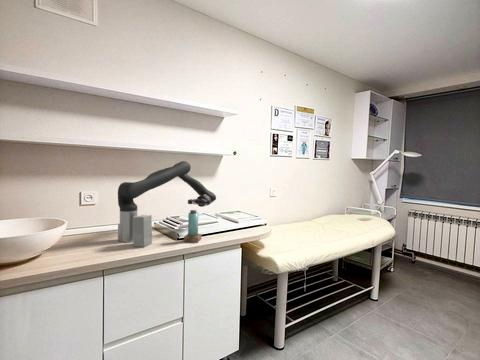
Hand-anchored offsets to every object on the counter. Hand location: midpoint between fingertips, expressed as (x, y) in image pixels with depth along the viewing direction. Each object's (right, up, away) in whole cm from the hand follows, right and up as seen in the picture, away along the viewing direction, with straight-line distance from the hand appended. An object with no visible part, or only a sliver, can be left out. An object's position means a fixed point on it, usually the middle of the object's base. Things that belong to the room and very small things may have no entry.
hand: (196, 202), depth 157 cm
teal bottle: (0, -18, -11) cm, 21 cm away
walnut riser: (0, -21, -11) cm, 24 cm away
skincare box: (-25, -21, -21) cm, 39 cm away
